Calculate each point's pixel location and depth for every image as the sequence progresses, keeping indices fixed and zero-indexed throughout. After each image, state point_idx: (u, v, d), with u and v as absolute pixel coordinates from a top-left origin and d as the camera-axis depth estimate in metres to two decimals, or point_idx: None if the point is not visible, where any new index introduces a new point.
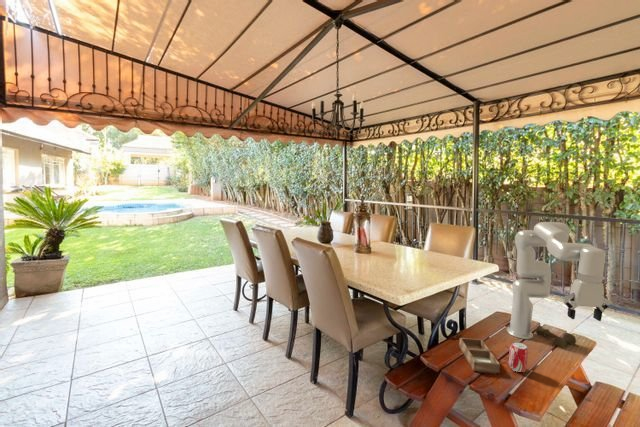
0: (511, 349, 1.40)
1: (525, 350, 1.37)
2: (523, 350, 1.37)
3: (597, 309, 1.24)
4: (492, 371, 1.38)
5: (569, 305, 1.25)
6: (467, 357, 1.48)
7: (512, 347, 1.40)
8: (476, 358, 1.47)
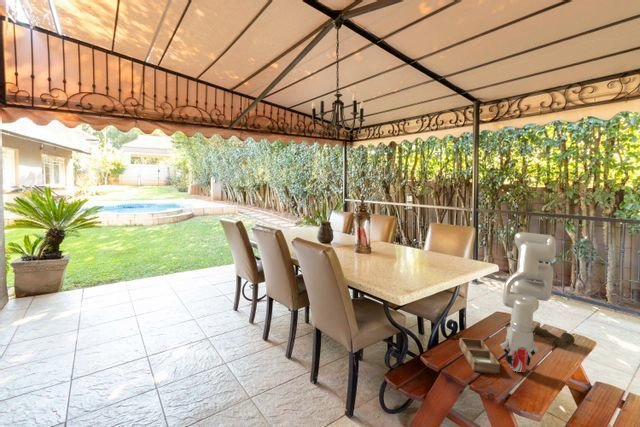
0: None
1: (525, 350, 1.37)
2: (523, 350, 1.37)
3: None
4: (492, 371, 1.38)
5: (506, 351, 1.40)
6: (467, 357, 1.48)
7: None
8: (476, 358, 1.47)
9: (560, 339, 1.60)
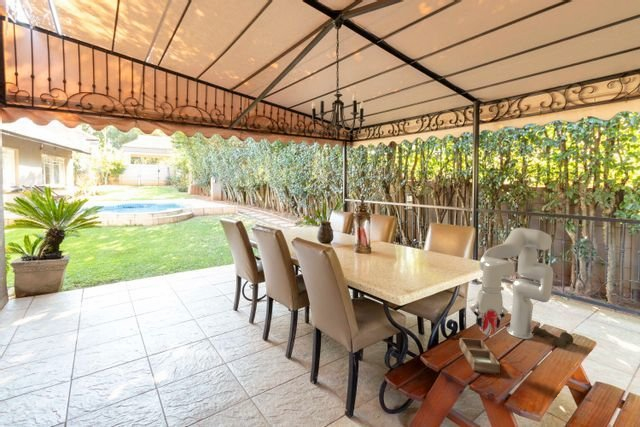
0: None
1: (494, 312, 1.38)
2: (492, 312, 1.37)
3: None
4: (492, 371, 1.38)
5: (476, 314, 1.41)
6: (467, 357, 1.48)
7: None
8: (476, 358, 1.47)
9: (560, 339, 1.60)
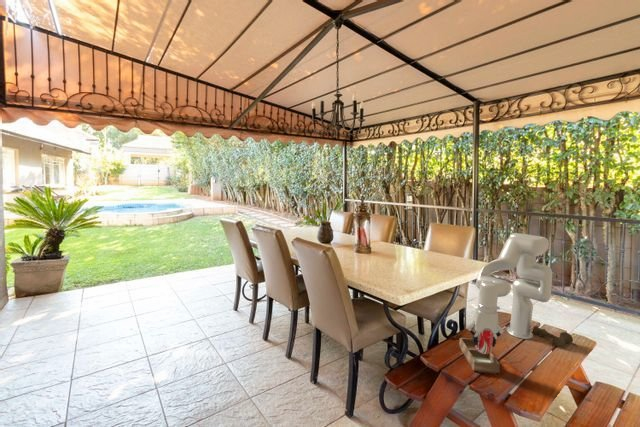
0: None
1: (490, 331, 1.39)
2: (488, 331, 1.39)
3: None
4: (492, 371, 1.38)
5: (472, 333, 1.42)
6: (467, 357, 1.48)
7: None
8: (476, 358, 1.47)
9: (559, 339, 1.60)
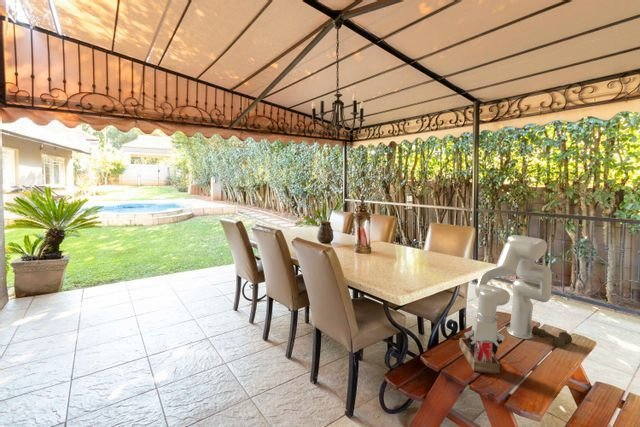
0: (476, 342, 1.43)
1: (489, 343, 1.40)
2: (487, 343, 1.40)
3: (494, 343, 1.42)
4: (492, 371, 1.38)
5: (469, 340, 1.43)
6: (467, 357, 1.48)
7: None
8: None
9: (559, 339, 1.60)
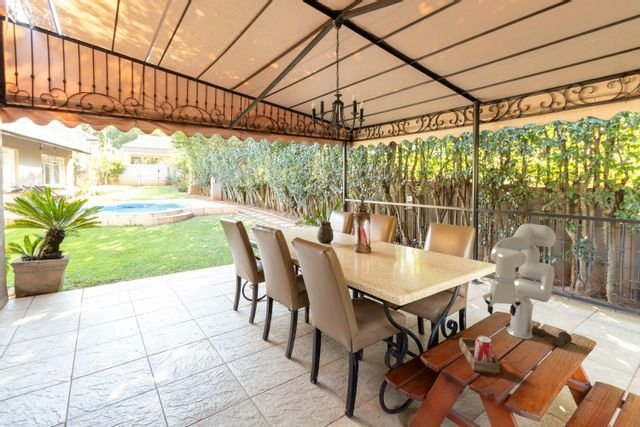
0: (476, 342, 1.43)
1: (489, 343, 1.40)
2: (487, 343, 1.40)
3: (512, 306, 1.43)
4: (492, 371, 1.38)
5: (487, 302, 1.43)
6: (467, 357, 1.48)
7: (477, 340, 1.43)
8: None
9: (559, 339, 1.60)
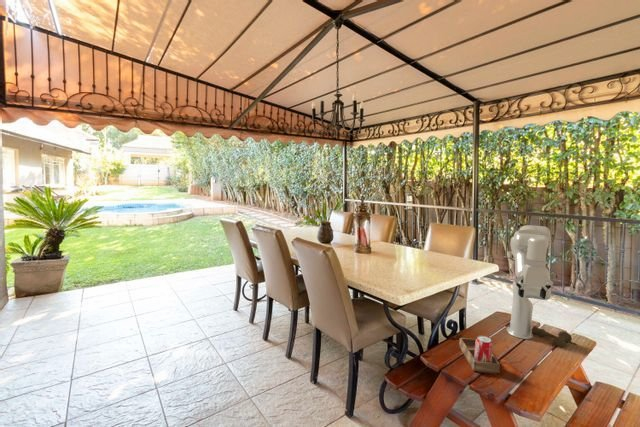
0: (476, 342, 1.43)
1: (489, 343, 1.40)
2: (487, 343, 1.40)
3: (542, 289, 1.48)
4: (492, 371, 1.38)
5: (519, 286, 1.48)
6: (467, 357, 1.48)
7: (477, 341, 1.43)
8: None
9: (560, 339, 1.60)
